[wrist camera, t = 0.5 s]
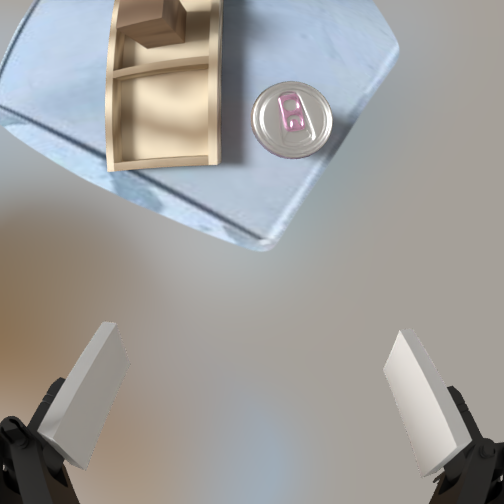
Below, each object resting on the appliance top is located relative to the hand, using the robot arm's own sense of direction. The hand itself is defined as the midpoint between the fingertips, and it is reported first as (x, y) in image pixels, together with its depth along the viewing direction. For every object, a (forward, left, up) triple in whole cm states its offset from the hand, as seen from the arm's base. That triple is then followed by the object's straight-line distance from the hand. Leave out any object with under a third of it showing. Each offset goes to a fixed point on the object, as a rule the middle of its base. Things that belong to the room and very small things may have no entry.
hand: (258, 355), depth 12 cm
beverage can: (-10, +2, -26) cm, 28 cm away
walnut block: (-24, -12, -25) cm, 37 cm away
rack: (-18, -12, -26) cm, 34 cm away
